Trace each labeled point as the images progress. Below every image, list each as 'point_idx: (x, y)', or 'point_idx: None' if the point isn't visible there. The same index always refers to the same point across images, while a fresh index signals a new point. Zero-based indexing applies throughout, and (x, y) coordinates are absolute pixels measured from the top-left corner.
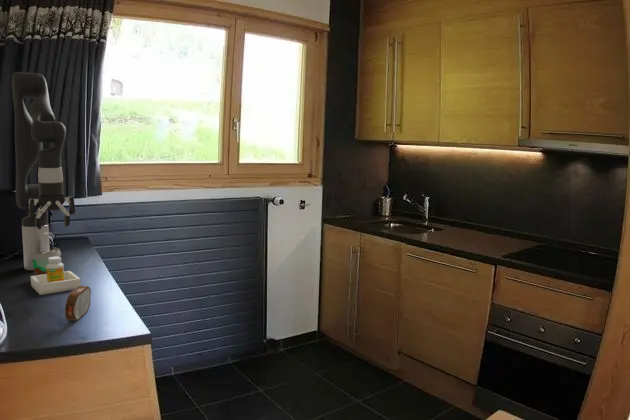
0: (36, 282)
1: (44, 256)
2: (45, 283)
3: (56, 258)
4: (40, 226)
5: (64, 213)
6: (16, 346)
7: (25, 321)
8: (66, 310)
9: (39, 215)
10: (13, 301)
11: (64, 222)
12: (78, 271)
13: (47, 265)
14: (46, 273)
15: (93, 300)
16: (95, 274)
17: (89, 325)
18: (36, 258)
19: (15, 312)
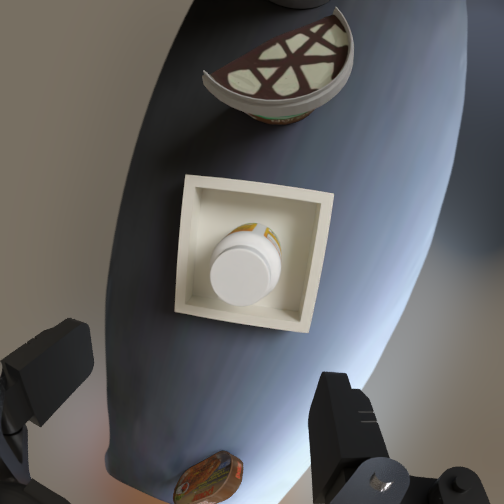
0: (177, 270)
1: (252, 108)
2: (194, 310)
3: (240, 299)
4: (77, 381)
5: (345, 495)
6: (116, 473)
7: (128, 427)
8: (175, 492)
9: (14, 445)
10: (120, 304)
11: (325, 402)
12: (392, 101)
13: (211, 265)
14: (266, 120)
15: (275, 422)
16: (419, 182)
17: None
18: (220, 98)
19: (116, 378)
